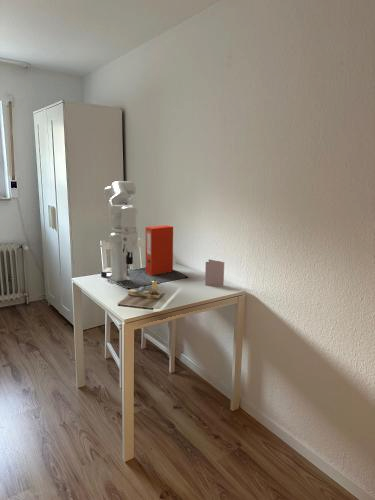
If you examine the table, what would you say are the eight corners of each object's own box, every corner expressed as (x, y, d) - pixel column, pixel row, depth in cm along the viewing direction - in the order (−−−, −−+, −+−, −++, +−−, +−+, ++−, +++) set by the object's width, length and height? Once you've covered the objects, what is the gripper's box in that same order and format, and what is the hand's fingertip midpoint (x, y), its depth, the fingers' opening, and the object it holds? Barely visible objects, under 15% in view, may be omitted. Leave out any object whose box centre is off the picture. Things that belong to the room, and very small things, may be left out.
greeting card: (224, 285, 222) (225, 261, 219) (217, 288, 217) (218, 264, 213) (208, 281, 229) (209, 259, 226) (202, 284, 223) (202, 261, 220)
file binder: (172, 271, 251) (173, 226, 244) (151, 275, 240) (151, 228, 233) (166, 269, 257) (166, 225, 250) (145, 272, 247) (145, 227, 240)
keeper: (137, 297, 195) (137, 289, 194) (142, 292, 202) (142, 285, 201) (140, 297, 194) (140, 290, 194) (145, 293, 201) (145, 286, 200)
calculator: (122, 273, 233) (100, 270, 235) (122, 279, 234) (100, 277, 236) (128, 268, 244) (107, 266, 246) (127, 274, 245) (106, 272, 247)
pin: (153, 295, 197) (153, 280, 195) (157, 296, 197) (157, 280, 195) (151, 297, 195) (151, 281, 193) (156, 297, 194) (156, 282, 192)
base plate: (117, 306, 186) (117, 303, 185) (134, 292, 206) (134, 290, 206) (152, 310, 181) (152, 307, 181) (165, 295, 202) (165, 293, 201)
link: (162, 294, 198) (162, 291, 198) (158, 298, 192) (158, 294, 191) (131, 292, 202) (131, 288, 201) (126, 295, 196) (126, 291, 195)
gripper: (129, 233, 179) (130, 268, 183) (140, 228, 193) (141, 261, 198) (115, 232, 181) (116, 266, 185) (128, 227, 195) (128, 260, 199)
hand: (129, 263), depth 191 cm, fingers closed
